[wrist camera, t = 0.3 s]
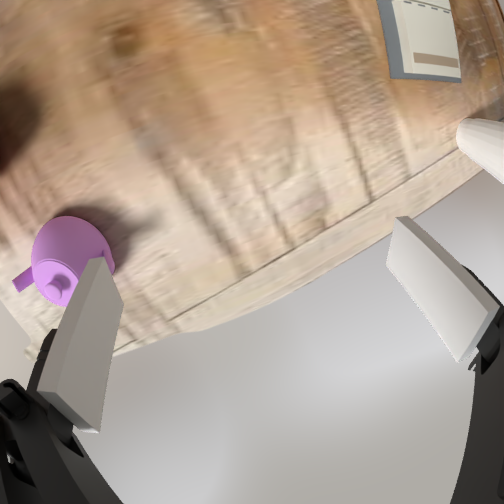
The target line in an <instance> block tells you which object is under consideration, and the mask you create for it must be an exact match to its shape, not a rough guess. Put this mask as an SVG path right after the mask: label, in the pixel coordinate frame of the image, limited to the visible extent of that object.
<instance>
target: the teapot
mask: <svg viewBox="0 0 504 504" xmlns="http://www.w3.org/2000/svg"><path fill="white" fill-rule="evenodd" d="M98 257H105V260H106V262H107V265H108V268H109V270H110V273H111V275H112V274H113V273H114V270H115V263H114V261H113V259H112V253H111V250H110V247H109V245H108V243H107V241H106V239H105V238H104V236H103V235H102V234H101V233H100V232H99V231H98V230H97V228H95V227H94V226H93V225H92V224H90V223H89V222H87V221H85V220H83V219H80V218H78V217H73V216H61V217H57V218H54V219H52V220H50V221H48V222H47V223H46V224H45V225H44V226H43V227H42V228H41V230H40V231H39V233H38V235H37V237H36V239H35V242H34V245H33V249H32V256H31V264H32V266H31V267H29V268H28V269H27V270H25V271H24V272H23V273H21V274H20V275H19V276H17V277H16V278H15V279H13V280H12V282H13V284H14V286H15V288H16V289H17V291H18V292H21V291H22V290H23V289H25V288H26V287H28V286H29V285H31V284H32V283H33V282H35V285H36V287H37V288H38V290H39V291H40V293H41V294H42V295H43V296H44V297H45V298H46V299H47V300H49V301H50V302H52V303H54V304H56V305H59V306H65V307H67V305H68V303H69V301H70V298H71V296H72V294H73V292H74V290H75V287H76V285H77V283H78V281H79V279H80V277H81V275H82V273H83V271H84V269H85V267H86V265H87V263H88V261H89V259H92V258H98Z"/></svg>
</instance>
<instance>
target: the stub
mask: <svg viewBox="0 0 504 504" xmlns="http://www.w3.org/2000/svg"><path fill="white" fill-rule="evenodd" d="M409 1H414V2H418V3H422V4H426V5H430V6H434V7H438V8H441V9H444V10H451V7H450V3H449V0H409Z"/></svg>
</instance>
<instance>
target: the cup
mask: <svg viewBox="0 0 504 504" xmlns="http://www.w3.org/2000/svg"><path fill="white" fill-rule="evenodd" d="M456 140H457V145H458V147H459V149H460V150H461V151H462V152H464V153H465V154H467V156H468V157H469V158H470V159H471V160H473V161H474V162H475V163H477V164H478V165H480V166H481V167H482V168H484V169H485V170H486V171H487V172H489V173H490V174H491V175H493V176H494V177H495V178H496V179H497V180H499V181H500V182H501V183H502V184H504V122H499V121H493V120H487V119H481V118H475V119H471V118H465V119H463V120H462V121H461V122H460V124H459V126H458V129H457V134H456Z"/></svg>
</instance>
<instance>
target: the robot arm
mask: <svg viewBox="0 0 504 504" xmlns="http://www.w3.org/2000/svg"><path fill="white" fill-rule="evenodd" d="M386 266H387V267H388V269H389V270H390V271H391V272H392V274H393V275H394V276H395V277H396V278H397V280H398V281H399V282H400V284H401V285H402V286H403V287H404V289H405V290H406V291H407V293H408V294H409V295H410V296H411V298H412V299H413V300H414V302H415V303H416V305H417V306H418V307H419V308H420V310H421V311H422V313H423V314H424V315H425V317H426V318H427V320H428V321H429V322H430V324H431V325H432V326H433V328H434V329H435V330H436V332H437V334H438V335H439V337H440V338H441V339H442V341H443V342H444V344H445V345H446V347H447V348H448V350H449V351H450V353H451V354H452V356H453V357H454V359H455V360H456V362H457V363H458V362H460V361H462V360H464V359H466V358H468V357H469V356H470V355H471V354H472V352H473V350H474V349H475V348H476V347H477V348H478V350H479V353H478V354H477V355H476V357H475V358H474V359H473V361H472V362H471V364H470V365H469V368H468V370H471V368H472V367H473V365H474V364H476V367H475V368H474V370H473V371H475V386H474V396H473V406H472V414H471V421H470V426H469V432H468V438H467V443H466V448H465V452H464V457H463V461H462V465H461V469H460V473H459V476H458V480H457V484H456V487H455V490H454V493H453V496H452V499H451V502H450V504H504V306H503V304H501V302H500V301H499V300H498V299H497V298H496V297H495V296H494V294H493V293H492V292H491V291H490V290H489V289H488V288H487V287H486V286H484V284H483V282H482V281H481V280H479V279H478V277H477V276H476V275H475V274H474V273H473V272H472V271H471V270H469V269H468V268H466V267H465V266H463V265H461V264H460V263H459V262H458V261H457V260H456V259H454V257H453V256H452V255H450V254H449V253H448V252H447V251H446V250H445V249H444V248H443V247H442V246H441V245H440V244H439V243H438V242H436V240H434V239H433V238H432V237H431V236H430V235H429V234H428V233H427V232H426V231H424V230H423V229H422V228H421V227H420V226H419V225H418V224H416V223H415V222H414V221H413V220H412V219H411V218H409V217H408V216H403V217H395V222H394V228H393V233H392V239H391V243H390V248H389V253H388V257H387V262H386ZM123 306H124V303H123V301H122V299H121V296H120V294H119V292H118V289H117V287H116V285H115V282H114V280H113V277H112V275H111V273H110V270H109V268H108V265H107V262H106V260H105V257H98V258H92V259H89V261H88V263H87V265H86V267H85V269H84V271H83V273H82V275H81V277H80V279H79V281H78V283H77V285H76V287H75V290H74V292H73V294H72V296H71V298H70V301H69V303H68V305H67V308H66V310H65V312H64V315H63V317H62V319H61V322H60V324H59V327H58V329H52V330H51V331H50V332H49V334H48V335H47V336H46V337H45V339H44V341H43V344H42V346H41V349H40V352H39V354H38V357H37V361H36V362H35V365H34V368H33V371H32V374H31V377H30V380H29V383H28V387H27V390H25V389H24V388H23V387H22V386H21V385H20V384H19V383H18V382H17V381H15V380H13V379H7V380H4V381H3V382H1V383H0V504H123V503H122V502H121V500H120V499H119V498H118V496H117V495H116V494H115V493H114V491H113V490H112V489H111V488H110V486H109V485H108V483H107V482H106V481H105V479H104V478H103V477H102V475H101V474H100V472H99V471H98V469H97V468H96V467H95V465H94V464H93V462H92V461H91V459H90V458H89V456H88V454H87V453H86V451H85V450H84V448H83V446H82V445H81V443H80V442H79V440H78V438H77V437H76V435H75V434H74V433H73V432H72V430H73V425H75V426H76V427H77V428H78V429H80V430H81V431H82V432H92V433H100V427H101V420H102V412H103V405H104V399H105V392H106V386H107V380H108V375H109V369H110V364H111V359H112V354H113V349H114V344H115V340H116V335H117V331H118V327H119V322H120V318H121V314H122V310H123ZM7 455H8V456H9V457H10V463H9V462H8V458H7Z"/></svg>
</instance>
